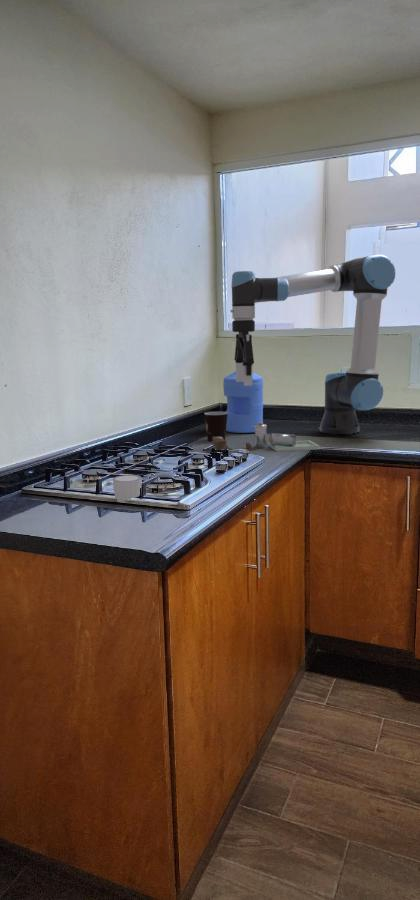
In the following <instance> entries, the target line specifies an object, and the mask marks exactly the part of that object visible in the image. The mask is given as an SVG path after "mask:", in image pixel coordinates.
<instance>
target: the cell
mask: <svg viewBox="0 0 420 900" xmlns="http://www.w3.org/2000/svg"><path fill="white" fill-rule="evenodd" d="M267 430H268V426H267V424H266V423H264V422H263V423H258V424H255V432H254V448H255V447H256V448H255V449H266V447H267V448H268V439H267V437H268V436H267V435H268V434H267V432H268V431H267Z"/></svg>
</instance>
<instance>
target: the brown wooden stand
mask: <svg viewBox="0 0 420 900" xmlns="http://www.w3.org/2000/svg"><path fill="white" fill-rule="evenodd" d="M211 444H212V445H214V446H215V449H216V450H221V449H229V446H228V444H227V440H226V438H225V439H223V438H222V437H221V436H217V437H212V443H211ZM252 447H253V445H252V444H251V443H250V442H245V447H241V448H240V447H239V448H238V447H237V448H235V449H247V450H252V449H253V448H252Z"/></svg>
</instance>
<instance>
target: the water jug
mask: <svg viewBox="0 0 420 900" xmlns="http://www.w3.org/2000/svg"><path fill="white" fill-rule="evenodd" d="M243 360H244V359H243ZM263 379H264V378H263V376H261V375H259V374H257V373H254V372H253V371H252V385H251V386H244V382H236V371H234V372H232V373H230V374H229V375H226V376H225V377H224V378H223V385H222V387H223V395H224V397H226V402H227V403H226V404H227V405H226V411H225V412H227V413H228V416H227V426H226V432H228V433H235V434H249V433H255V424H258V423H263V424H264V417H263V415H264V414H263V413H264V410H263V409H264V403H263V399H264V397H263V396H264V395H263V394H264V393H263V392H264V391H263V389H264V381H263Z"/></svg>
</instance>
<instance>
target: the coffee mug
mask: <svg viewBox="0 0 420 900" xmlns="http://www.w3.org/2000/svg"><path fill="white" fill-rule="evenodd" d="M203 416H204V423H205V429H206V438H207V441H208V442H212V437H217V436H221V437H222V438H223V439H225V440H226V434H227V431H226V426H227V416H228V413H227V412H226V411H208V412H207V411H206V412H204V413H203Z"/></svg>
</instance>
